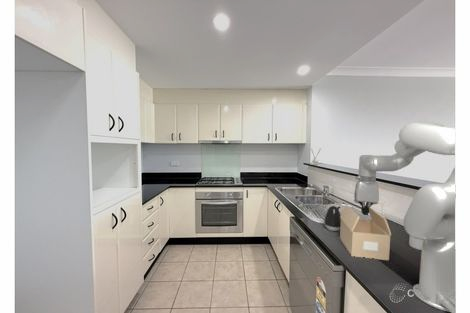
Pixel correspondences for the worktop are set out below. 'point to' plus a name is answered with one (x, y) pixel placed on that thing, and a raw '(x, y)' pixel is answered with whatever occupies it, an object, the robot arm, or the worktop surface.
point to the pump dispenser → (333, 219)
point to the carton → (366, 240)
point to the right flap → (379, 220)
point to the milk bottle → (415, 243)
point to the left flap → (349, 218)
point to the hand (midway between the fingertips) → (365, 214)
